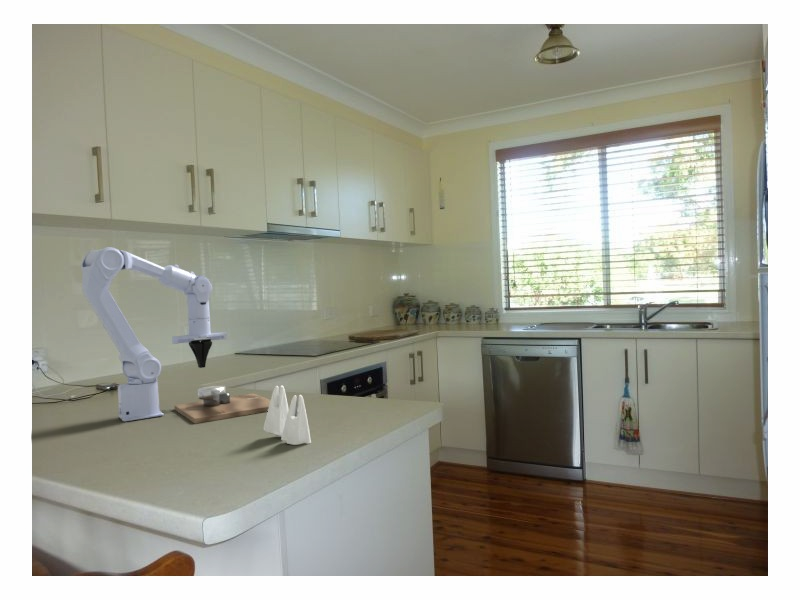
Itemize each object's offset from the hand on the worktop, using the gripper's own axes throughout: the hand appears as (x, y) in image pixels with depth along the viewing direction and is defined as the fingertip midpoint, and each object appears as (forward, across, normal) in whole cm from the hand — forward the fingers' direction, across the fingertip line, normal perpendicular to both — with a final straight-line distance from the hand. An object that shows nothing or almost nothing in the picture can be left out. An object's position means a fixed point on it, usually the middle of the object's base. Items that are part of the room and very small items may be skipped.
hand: (201, 367), depth 158 cm
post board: (+10, +3, -12) cm, 16 cm away
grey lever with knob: (+7, 0, -14) cm, 15 cm away
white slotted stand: (+11, +1, -53) cm, 54 cm away
